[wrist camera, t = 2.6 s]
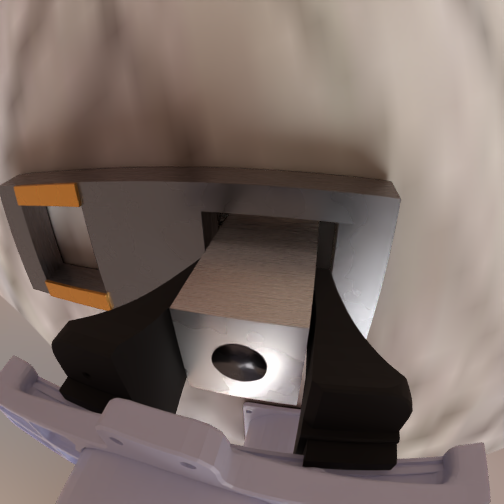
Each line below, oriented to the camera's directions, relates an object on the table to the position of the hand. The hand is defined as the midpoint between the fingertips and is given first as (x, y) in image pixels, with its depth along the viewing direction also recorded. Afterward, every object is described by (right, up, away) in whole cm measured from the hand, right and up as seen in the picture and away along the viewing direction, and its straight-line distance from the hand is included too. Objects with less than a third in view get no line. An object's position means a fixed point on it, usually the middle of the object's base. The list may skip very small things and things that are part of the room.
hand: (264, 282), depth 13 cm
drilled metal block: (+1, +1, +2) cm, 3 cm away
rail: (-5, +2, +3) cm, 7 cm away
